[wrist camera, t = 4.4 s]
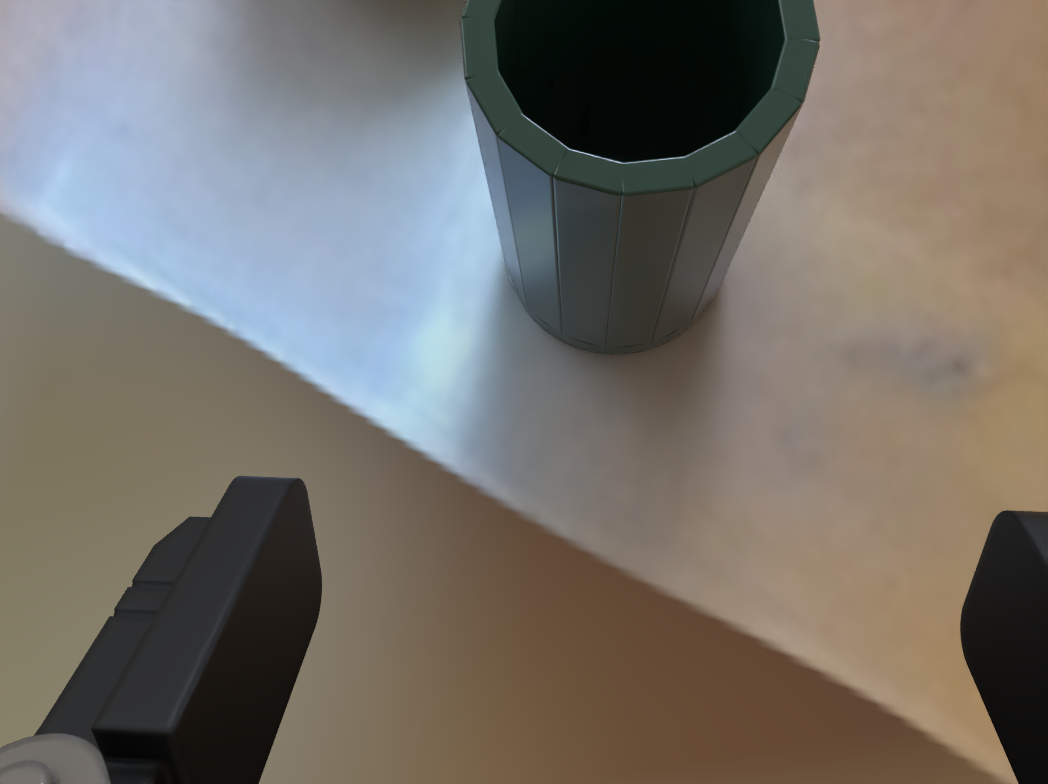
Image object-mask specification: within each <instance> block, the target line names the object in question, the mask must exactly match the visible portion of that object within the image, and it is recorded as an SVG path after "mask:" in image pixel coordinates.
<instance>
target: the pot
mask: <svg viewBox="0 0 1048 784" xmlns="http://www.w3.org/2000/svg"><path fill="white" fill-rule="evenodd" d="M460 28H461V41H462V54H463V67H464V79H465V83H466V88H467V92H468V97H469V101H470V106H471V110H472V115H473V119H474V124H475V129H476V133H477V138H478V142H479V147H480V151H481V156H482V160H483V165H484V169H485V174H486V178H487V183H488V187H489V192H490V197H491V201H492V206H493V210H494V215H495V219H496V224H497V228H498V233H499V237H500V242H501V246H502V251H503V255H504V260H505V264H506V269H507V272H508V274H509V276H510V278H511V282H512V285H513V288H514V290H515V292H516V294H517V296H518V298H519V300H520V302H521V303H522V305H523V306H524V308H525V310H526V311H527V312H528V313H529V314H530V316H531V317H532V318H533V319H534V320H535V321H536V322H537V323H538V324H539V325H540V326H541V327H542V328H543V329H544V330H546V331H547V332H549V333H550V334H551V335H553V336H554V337H556V338H557V339H559V340H561V341H563V342H565V343H567V344H569V345H572V346H574V347H577V348H580V349H583V350H587V351H591V352H596V353H605V354H628V353H634V352H640V351H644V350H647V349H651V348H654V347H657V346H659V345H661V344H664V343H666V342H668V341H670V340H671V339H673V338H675V337H676V336H678V335H680V334H681V333H682V332H684V331H685V330H686V329H687V328H689V327H690V326H691V325H692V324H693V323H694V322H695V321H696V320H697V319H698V318H699V317H700V316H701V315H702V313H703V312H704V311H705V309H706V308H707V306H708V305H709V304H710V302H711V300H712V298H713V296H714V295H715V294H716V292H717V291H718V289H719V287H720V286H721V283H722V281H723V279H724V277H725V275H726V272H727V270H728V268H729V266H730V264H731V261H732V259H733V257H734V255H735V252H736V250H737V248H738V246H739V244H740V241H741V239H742V237H743V235H744V233H745V230H746V228H747V226H748V224H749V222H750V219H751V217H752V215H753V213H754V211H755V208H756V206H757V204H758V202H759V200H760V197H761V195H762V193H763V191H764V189H765V186H766V184H767V182H768V180H769V178H770V175H771V173H772V171H773V169H774V167H775V164H776V162H777V160H778V158H779V156H780V153H781V151H782V149H783V147H784V145H785V142H786V140H787V138H788V136H789V134H790V131H791V129H792V127H793V125H794V123H795V120H796V118H797V116H798V114H799V112H800V109H801V107H802V105H803V103H804V100H805V97H806V93H807V90H808V86H809V83H810V79H811V75H812V72H813V68H814V65H815V61H816V58H817V54H818V50H819V47H820V46H819V42H820V35H819V29H818V24H817V18H816V12H815V7H814V1H813V0H467V2H466V5H465V7H464V10H463V13H462V16H461V21H460Z"/></svg>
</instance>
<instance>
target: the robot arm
mask: <svg viewBox="0 0 1048 784" xmlns="http://www.w3.org/2000/svg"><path fill="white" fill-rule="evenodd" d="M321 595H322V576H321V568H320V562H319V557H318V551H317V545H316V539H315V533H314V528H313V522H312V516H311V510H310V505H309V499H308V493H307V489H306V486H305V484H304V482H303V481H302V480H301V479H299V478H279V477H255V476H238V477H236V478H235V479H234V480H233V481H232V482H231V484H230V485H229V487H228V489H227V491H226V493H225V494H224V496H223V497H222V499H221V501H220V503H219V504H218V506H217V508H216V510H215V511H214V513H213V515H212V517H211V518H208V517H189V518H188V519H186V520H185V521H184V522H183V523H181V524H180V525H179V526H178V527H176V528H175V529H174V530H173V531H172V532H170V533H169V534H168V535H167V536H165V537H164V538H163V539H162V540H160V541H159V542H158V543H157V544H155V545H154V547H153V548H152V550H151V551H150V553H149V555H148V556H147V558H146V559H145V561H144V563H143V564H142V566H141V567H140V569H139V570H138V572H137V574H136V575H135V577H134V578H133V584H132V587H128V588H127V590H126V591H125V593H124V594H123V596H122V598H121V599H120V601H119V602H118V604H117V606H116V607H115V609H114V610H115V613H114V616H113V617H109V618H108V620H107V621H106V623H105V625H104V626H103V628H102V629H101V631H100V633H99V634H98V636H97V638H96V639H95V640H94V642H93V644H92V645H91V647H90V649H89V650H88V652H87V653H86V655H85V656H84V658H83V660H82V661H81V663H80V664H79V666H78V668H77V669H76V671H75V672H74V674H73V676H72V677H71V679H70V680H69V682H68V683H67V685H66V687H65V688H64V690H63V691H62V693H61V695H60V696H59V698H58V699H57V701H56V703H55V704H54V706H53V707H52V709H51V711H50V712H49V714H48V715H47V717H46V719H45V720H44V722H43V723H42V725H41V727H40V728H39V729H38V730H37V732H36V733H35V735H34V736H32V737H27V738H23V739H21V740H18V741H15V742H13V743H10V744H8V745H6V746H4V747H1V748H0V784H258V783H259V781H260V778H261V775H262V772H263V769H264V767H265V764H266V761H267V759H268V756H269V753H270V750H271V747H272V745H273V742H274V739H275V737H276V734H277V731H278V728H279V725H280V723H281V720H282V717H283V715H284V712H285V709H286V706H287V703H288V701H289V698H290V695H291V692H292V690H293V687H294V684H295V682H296V678H297V676H298V673H299V670H300V667H301V665H302V662H303V659H304V657H305V654H306V651H307V648H308V646H309V643H310V640H311V637H312V634H313V632H314V629H315V626H316V623H317V619H318V615H319V611H320V604H321ZM960 632H961V643H962V649H963V653H964V657H965V660H966V663H967V665H968V668H969V670H970V672H971V674H972V677H973V679H974V681H975V684H976V686H977V688H978V691H979V693H980V695H981V698H982V700H983V702H984V705H985V707H986V709H987V712H988V714H989V716H990V718H991V721H992V723H993V725H994V728H995V730H996V732H997V735H998V737H999V739H1000V742H1001V744H1002V746H1003V749H1004V751H1005V753H1006V756H1007V758H1008V760H1009V762H1010V765H1011V767H1012V769H1013V772H1014V774H1015V776H1016V779H1017V781H1018V783H1019V784H1048V512H1032V511H1008V510H1006V511H1002V512H1001V513H999V514H998V515H997V516H996V518H995V519H994V521H993V523H992V526H991V528H990V531H989V534H988V537H987V540H986V542H985V545H984V548H983V551H982V554H981V557H980V559H979V562H978V565H977V568H976V571H975V573H974V576H973V579H972V582H971V585H970V588H969V590H968V593H967V596H966V599H965V602H964V605H963V608H962V614H961V623H960Z"/></svg>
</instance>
